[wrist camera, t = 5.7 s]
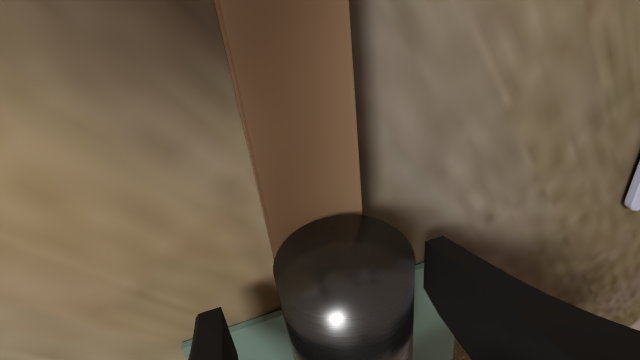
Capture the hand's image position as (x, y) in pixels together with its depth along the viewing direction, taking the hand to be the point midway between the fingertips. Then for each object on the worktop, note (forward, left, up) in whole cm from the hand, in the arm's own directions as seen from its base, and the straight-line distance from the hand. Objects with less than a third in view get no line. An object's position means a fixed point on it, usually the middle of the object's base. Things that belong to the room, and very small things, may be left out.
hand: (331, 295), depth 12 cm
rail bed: (0, -5, -2) cm, 5 cm away
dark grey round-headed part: (0, +2, -1) cm, 3 cm away
